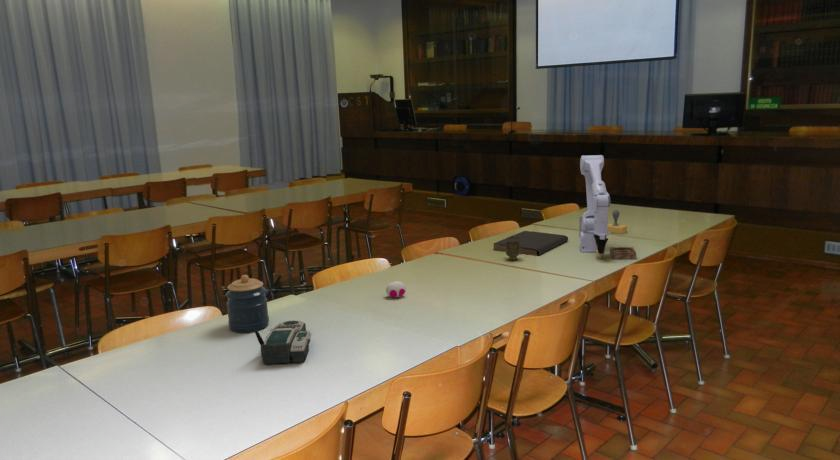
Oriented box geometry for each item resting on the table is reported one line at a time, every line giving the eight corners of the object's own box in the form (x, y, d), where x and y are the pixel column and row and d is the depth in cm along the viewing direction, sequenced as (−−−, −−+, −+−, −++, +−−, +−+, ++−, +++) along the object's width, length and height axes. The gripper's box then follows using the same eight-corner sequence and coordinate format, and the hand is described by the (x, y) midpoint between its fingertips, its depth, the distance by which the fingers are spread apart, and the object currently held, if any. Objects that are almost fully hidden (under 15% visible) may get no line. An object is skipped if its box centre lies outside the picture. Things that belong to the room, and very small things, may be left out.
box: (612, 259, 274) (612, 252, 273) (609, 253, 284) (609, 247, 283) (636, 259, 272) (636, 252, 272) (632, 253, 282) (632, 247, 281)
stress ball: (388, 307, 230) (389, 296, 226) (383, 290, 236) (384, 279, 231) (408, 304, 232) (409, 293, 227) (403, 288, 237) (404, 276, 233)
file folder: (524, 229, 323) (568, 235, 309) (524, 237, 324) (568, 243, 310) (492, 242, 297) (539, 249, 283) (492, 251, 298) (539, 257, 284)
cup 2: (598, 238, 313) (598, 219, 311) (581, 239, 314) (581, 219, 312) (593, 235, 322) (594, 216, 320) (577, 235, 322) (578, 216, 320)
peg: (596, 259, 275) (597, 241, 273) (596, 257, 278) (596, 239, 276) (604, 259, 274) (604, 241, 272) (603, 257, 277) (603, 239, 275)
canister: (253, 317, 216) (249, 267, 212) (277, 324, 207) (273, 273, 204) (220, 328, 206) (215, 276, 202) (244, 336, 198) (239, 283, 194)
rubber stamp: (604, 232, 328) (604, 209, 325) (609, 230, 332) (609, 208, 329) (622, 234, 321) (623, 211, 319) (627, 232, 325) (627, 209, 323)
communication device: (318, 329, 203) (316, 299, 201) (307, 364, 175) (304, 329, 173) (273, 331, 202) (271, 301, 200) (255, 367, 175) (252, 332, 173)
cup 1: (520, 257, 282) (520, 240, 281) (521, 261, 275) (521, 244, 273) (504, 257, 283) (504, 240, 281) (504, 261, 276) (504, 244, 274)
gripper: (612, 225, 265) (611, 256, 268) (608, 218, 279) (607, 248, 281) (595, 225, 266) (594, 255, 269) (592, 218, 280) (591, 248, 283)
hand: (600, 252), depth 275 cm, fingers open, 4 cm apart
